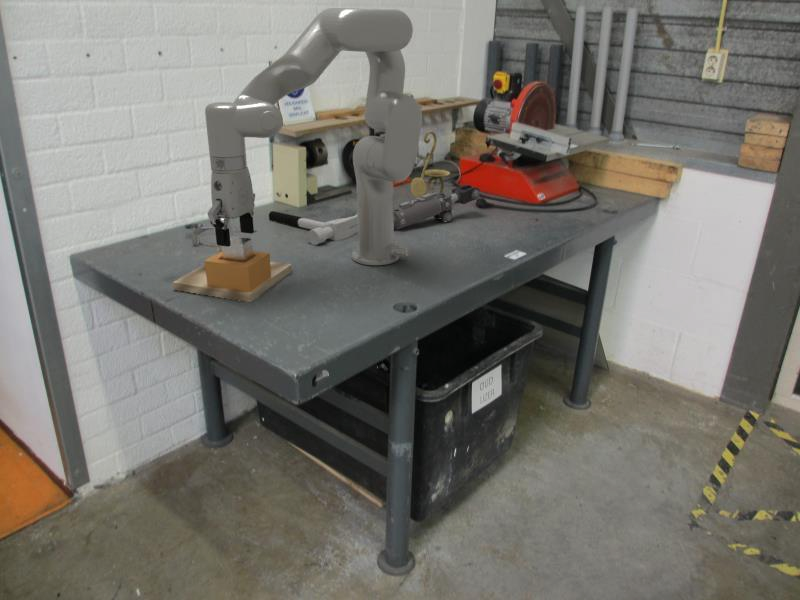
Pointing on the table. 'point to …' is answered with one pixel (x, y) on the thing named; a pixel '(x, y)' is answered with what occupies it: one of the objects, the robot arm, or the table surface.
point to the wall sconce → (428, 174)
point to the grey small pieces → (199, 232)
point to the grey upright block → (238, 250)
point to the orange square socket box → (232, 272)
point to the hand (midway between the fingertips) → (235, 238)
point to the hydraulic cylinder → (433, 206)
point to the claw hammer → (319, 227)
